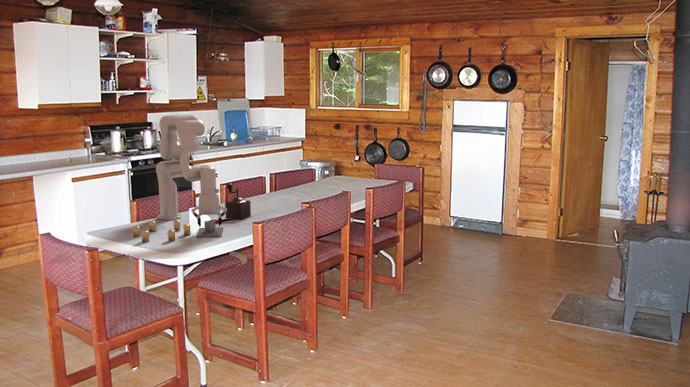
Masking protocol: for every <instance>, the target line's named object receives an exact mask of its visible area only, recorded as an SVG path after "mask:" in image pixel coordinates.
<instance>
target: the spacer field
mask: <svg viewBox="0 0 690 387" xmlns="http://www.w3.org/2000/svg"><path fill="white" fill-rule="evenodd" d="M172 223H173V229H168V230H167V241H168V242H176V232H180V231H181V220H180V219H173V222H172ZM148 227H149V230H141V229H140V228H141V227H140V225H133V226H132V236H133V238H139V237H141V242H142V243H148V242H150V236H149V235H150V232H151V233H155V232H157V224H156V220H149V221H148ZM182 227H183V229H182V230H183V236H191V224H190V223H187V224H186V223H185V224H183V225H182ZM140 231H141V232H140ZM140 233H141V234H140Z"/></svg>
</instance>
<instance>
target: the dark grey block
mask: <svg viewBox="0 0 690 387" xmlns="http://www.w3.org/2000/svg"><path fill="white" fill-rule="evenodd" d="M215 227H216V220H205V221H204V228H205V232H206V233H212V232H215V231H216V230H215Z"/></svg>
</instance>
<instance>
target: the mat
mask: <svg viewBox="0 0 690 387" xmlns="http://www.w3.org/2000/svg"><path fill="white" fill-rule="evenodd" d="M215 230H216V231H215V232H212V233H206V232H205V227H199V228H198V231H197V233H196V235H195V238H196V239H202V238H204V239H206V238H222V236H223V232H224V226H215Z"/></svg>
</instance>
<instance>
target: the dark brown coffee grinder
mask: <svg viewBox="0 0 690 387" xmlns="http://www.w3.org/2000/svg"><path fill="white" fill-rule="evenodd" d="M225 187H226V189H227V190H228V192H227V193H228V194H229V195H231V194H236V197H233V198H232V199H230V200H227V201H224V207H225V208H227V211H226V213H225V219H227V218H233V219H232V220H238V221H241V220H245V219H247V218H251V217H252V212H251V211H252V210H251V206H252V205H251V200H250V199H245V198H243V196H239V188H238V187H236V188H235V191H234V190H233V188H234V184H233V183H227V184H226V186H225Z"/></svg>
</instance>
